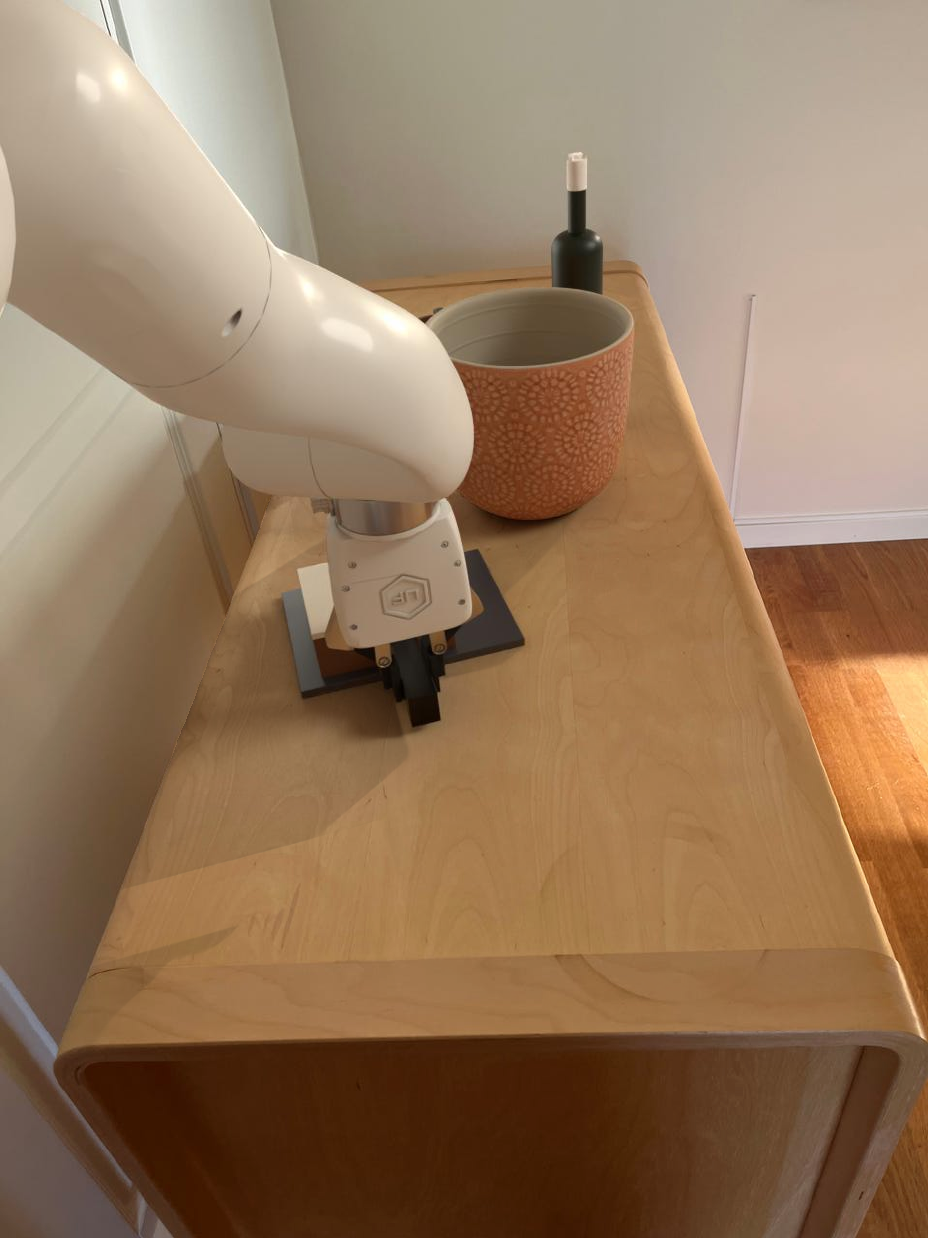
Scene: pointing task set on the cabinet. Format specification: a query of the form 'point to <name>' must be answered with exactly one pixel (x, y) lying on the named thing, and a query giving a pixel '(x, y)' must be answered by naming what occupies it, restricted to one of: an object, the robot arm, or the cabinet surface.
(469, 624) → the cake
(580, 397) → the planter
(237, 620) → the cabinet surface
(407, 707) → the cake knife
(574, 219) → the wine bottle
